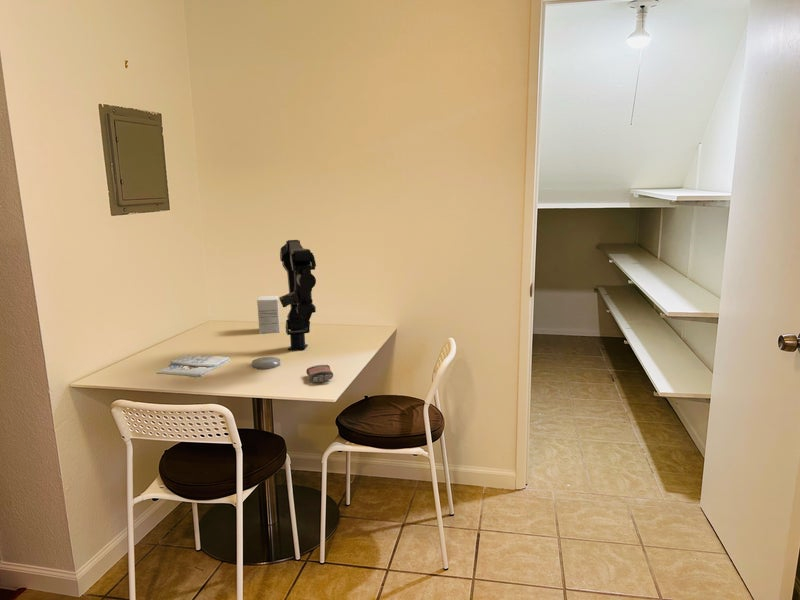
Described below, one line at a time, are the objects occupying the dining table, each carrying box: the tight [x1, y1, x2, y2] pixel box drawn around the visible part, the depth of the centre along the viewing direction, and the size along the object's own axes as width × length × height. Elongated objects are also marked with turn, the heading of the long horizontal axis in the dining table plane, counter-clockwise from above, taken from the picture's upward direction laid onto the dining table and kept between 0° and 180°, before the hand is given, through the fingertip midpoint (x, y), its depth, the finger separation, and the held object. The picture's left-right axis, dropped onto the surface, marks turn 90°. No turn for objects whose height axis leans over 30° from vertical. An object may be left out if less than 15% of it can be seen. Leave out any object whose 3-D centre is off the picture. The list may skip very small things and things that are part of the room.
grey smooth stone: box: [251, 356, 281, 370], centre depth 216 cm, size 10×10×2 cm
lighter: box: [305, 364, 334, 383], centre depth 200 cm, size 8×3×10 cm
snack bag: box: [156, 354, 232, 378], centre depth 216 cm, size 19×20×2 cm
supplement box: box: [256, 295, 281, 334], centre depth 264 cm, size 9×9×15 cm
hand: (305, 327), depth 216 cm, fingers closed
